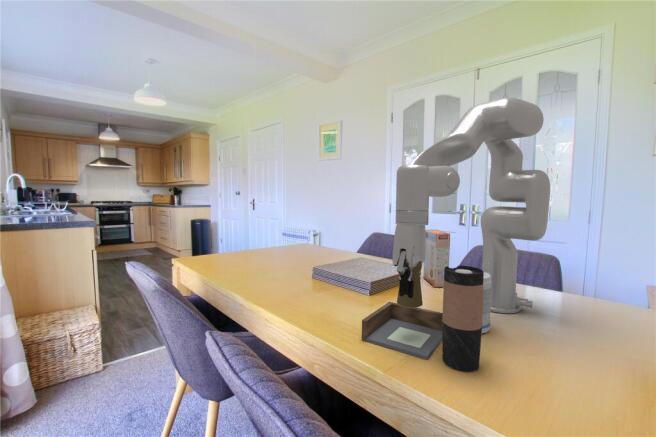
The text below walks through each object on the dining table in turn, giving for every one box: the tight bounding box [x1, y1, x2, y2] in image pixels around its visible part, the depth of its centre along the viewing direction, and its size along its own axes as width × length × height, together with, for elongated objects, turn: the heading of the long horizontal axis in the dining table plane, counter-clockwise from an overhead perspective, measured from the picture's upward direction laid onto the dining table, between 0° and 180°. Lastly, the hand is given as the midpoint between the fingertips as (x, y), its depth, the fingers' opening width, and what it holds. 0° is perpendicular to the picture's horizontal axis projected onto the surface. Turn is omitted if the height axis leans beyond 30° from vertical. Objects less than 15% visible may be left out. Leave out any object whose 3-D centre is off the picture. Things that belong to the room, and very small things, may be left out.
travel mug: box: [441, 265, 484, 373], centre depth 66 cm, size 8×8×20 cm
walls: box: [361, 301, 443, 342], centre depth 78 cm, size 16×16×5 cm
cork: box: [396, 261, 423, 308], centre depth 75 cm, size 6×6×11 cm
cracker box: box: [422, 229, 451, 288], centre depth 125 cm, size 14×6×21 cm, turn 179°
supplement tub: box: [482, 272, 492, 334], centre depth 83 cm, size 10×10×15 cm
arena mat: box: [362, 319, 442, 361], centre depth 78 cm, size 16×16×1 cm
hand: (409, 293), depth 75 cm, fingers closed on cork, 4 cm apart
